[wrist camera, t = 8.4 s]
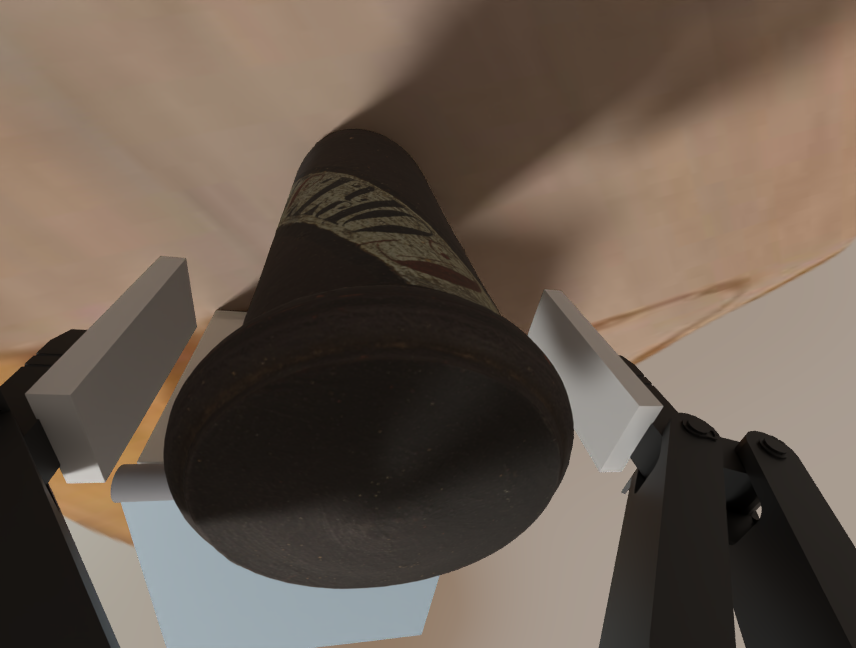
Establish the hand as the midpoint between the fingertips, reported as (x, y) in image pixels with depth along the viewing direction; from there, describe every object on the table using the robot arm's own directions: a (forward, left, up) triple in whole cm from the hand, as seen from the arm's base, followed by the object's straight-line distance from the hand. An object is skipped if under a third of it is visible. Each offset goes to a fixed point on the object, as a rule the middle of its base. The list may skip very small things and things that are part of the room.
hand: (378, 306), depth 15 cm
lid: (+14, -2, +2) cm, 15 cm away
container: (0, 0, -11) cm, 11 cm away
